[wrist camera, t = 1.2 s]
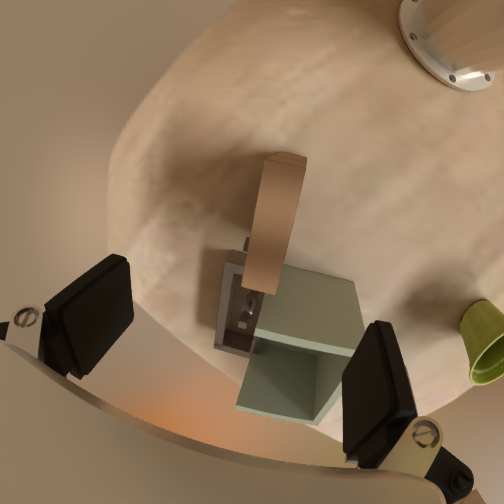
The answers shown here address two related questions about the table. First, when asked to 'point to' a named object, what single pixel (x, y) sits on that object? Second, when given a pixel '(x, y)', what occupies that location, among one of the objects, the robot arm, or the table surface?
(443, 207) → the table surface
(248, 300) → the grey brown open box
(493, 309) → the plant pot
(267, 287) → the door
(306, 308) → the box
